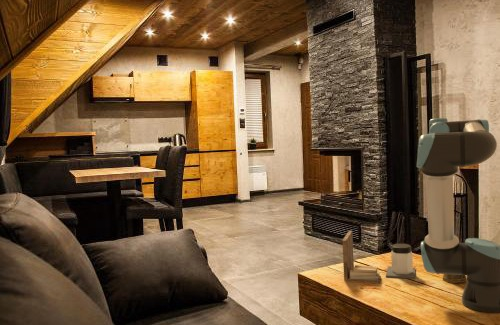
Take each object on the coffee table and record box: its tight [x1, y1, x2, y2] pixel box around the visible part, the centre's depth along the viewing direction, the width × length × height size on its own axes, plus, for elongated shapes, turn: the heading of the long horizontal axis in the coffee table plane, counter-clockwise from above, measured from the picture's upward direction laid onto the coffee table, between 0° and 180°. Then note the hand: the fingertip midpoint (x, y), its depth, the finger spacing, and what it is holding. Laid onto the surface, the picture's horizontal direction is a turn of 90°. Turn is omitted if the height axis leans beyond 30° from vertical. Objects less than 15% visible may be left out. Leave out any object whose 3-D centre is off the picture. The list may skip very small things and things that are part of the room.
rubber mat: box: [385, 265, 416, 280], centre depth 194 cm, size 14×12×1 cm
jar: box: [390, 243, 414, 275], centre depth 193 cm, size 9×8×12 cm
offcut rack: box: [341, 230, 382, 284], centre depth 194 cm, size 20×15×18 cm
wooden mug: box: [442, 274, 467, 284], centre depth 179 cm, size 9×14×18 cm, turn 15°
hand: (441, 200), depth 191 cm, fingers open, 13 cm apart
